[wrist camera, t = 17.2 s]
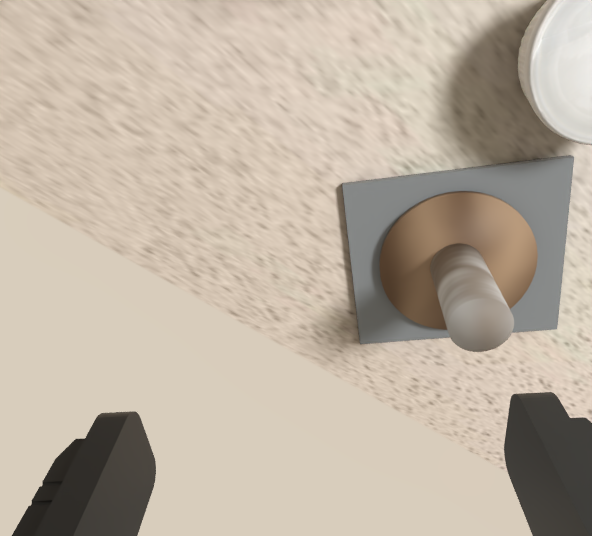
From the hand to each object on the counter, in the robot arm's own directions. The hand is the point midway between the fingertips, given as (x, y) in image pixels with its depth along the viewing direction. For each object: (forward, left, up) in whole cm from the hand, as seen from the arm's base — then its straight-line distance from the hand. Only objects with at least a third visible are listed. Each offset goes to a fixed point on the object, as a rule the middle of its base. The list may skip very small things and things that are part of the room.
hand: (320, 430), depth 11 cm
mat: (+9, -12, -32) cm, 36 cm away
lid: (+9, -12, -31) cm, 35 cm away
